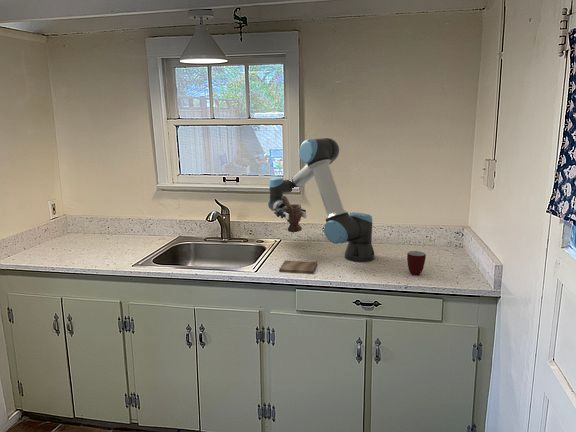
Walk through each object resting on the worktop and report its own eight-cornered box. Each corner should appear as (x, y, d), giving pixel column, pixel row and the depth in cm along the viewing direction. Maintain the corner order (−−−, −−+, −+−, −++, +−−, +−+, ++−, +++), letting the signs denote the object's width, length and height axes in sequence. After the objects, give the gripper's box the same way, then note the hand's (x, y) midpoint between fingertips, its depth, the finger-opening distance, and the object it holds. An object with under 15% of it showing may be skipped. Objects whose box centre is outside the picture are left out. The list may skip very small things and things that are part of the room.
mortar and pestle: (298, 235, 241) (295, 196, 235) (282, 234, 244) (278, 196, 238) (304, 228, 251) (302, 191, 246) (289, 227, 254) (286, 191, 249)
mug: (404, 269, 226) (405, 249, 224) (421, 270, 226) (422, 249, 224) (407, 277, 216) (409, 255, 214) (426, 277, 216) (427, 256, 214)
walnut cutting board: (316, 264, 235) (317, 262, 234) (313, 273, 221) (313, 271, 221) (285, 262, 238) (284, 260, 237) (279, 271, 224) (279, 269, 224)
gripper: (300, 213, 266) (316, 221, 246) (263, 216, 259) (277, 225, 238) (300, 200, 265) (316, 207, 244) (263, 202, 258) (276, 210, 237)
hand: (297, 216), depth 241 cm, fingers closed on mortar and pestle, 8 cm apart
